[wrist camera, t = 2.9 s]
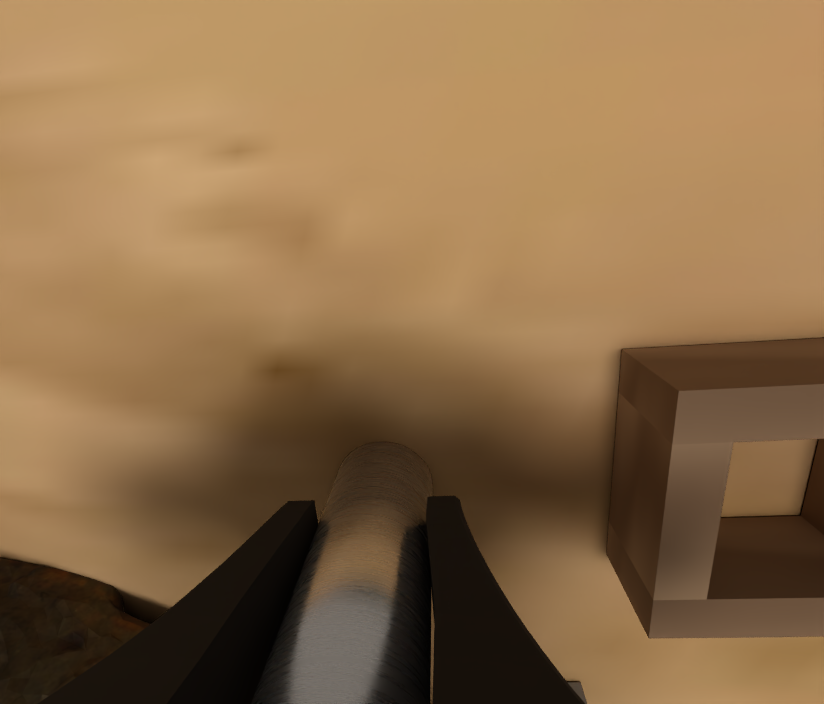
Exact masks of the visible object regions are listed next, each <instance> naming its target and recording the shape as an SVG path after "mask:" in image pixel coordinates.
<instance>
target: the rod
mask: <svg viewBox="0 0 824 704" xmlns="http://www.w3.org/2000/svg"><path fill="white" fill-rule="evenodd" d="M431 496H432V477H431V474H430V471H429V469H428V467H427V465H426V464H425V462H424V461H423V460H422V459H421V458H420V457H419V456H418V455H417V454H416V453H415V452H413V451H412V450H410V449H408V448H406V447H404V446H401V445H399V444H395V443H389V442H375V443H370V444H366V445H363V446H361V447H359V448H357V449H355V450H354V451H352V452H351V453H350V454H349V455H348V456H347V457H346V458H345V459H344V461H343V462H342V464H341V466H340V468H339V471H338V474H337V476H336V479H335V482H334V484H333V487H332V490H331V492H330V495H329V498H328V500H327V503H326V506H325V508H324V511H323V514H322V516H321V519H320V522H319V524H318V527H317V530H316V532H315V535H314V538H313V540H312V543H311V546H310V548H309V551H308V554H307V556H306V559H305V562H304V564H303V567H302V570H301V572H300V575H299V578H298V580H297V583H296V586H295V588H294V591H293V594H292V596H291V599H290V602H289V604H288V607H287V610H286V612H285V615H284V618H283V620H282V623H281V626H280V628H279V631H278V634H277V636H276V639H275V642H274V644H273V647H272V650H271V652H270V655H269V658H268V660H267V663H266V666H265V668H264V671H263V674H262V676H261V679H260V682H259V684H258V687H257V690H256V692H255V695H254V698H253V700H252V703H251V704H430V669H431V573H430V562H429V550H428V538H427V525H426V508H427V498H428V497H431Z"/></svg>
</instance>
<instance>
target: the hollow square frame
mask: <svg viewBox="0 0 824 704" xmlns="http://www.w3.org/2000/svg"><path fill="white" fill-rule="evenodd" d="M802 439H819V441H818V446H817V450H816V454H815V458H814V462H813V467H812V471H811V475H810V479H809V483H808V488H807V492H806V496H805V500H804V504H803V509H802V513H801V516H777V517H742V518H721V512H722V506H723V500H724V494H725V489H726V483H727V477H728V471H729V465H730V459H731V453H732V447H733V442H752V441H777V440H802ZM607 556H608V558H609V560H610V562H611V564H612V566H613V568H614V570H615V572H616V574H617V576H618V578H619V580H620V582H621V584H622V586H623V588H624V590H625V592H626V594H627V596H628V598H629V600H630V602H631V604H632V606H633V608H634V610H635V612H636V614H637V616H638V618H639V620H640V622H641V624H642V626H643V628H644V630H645V632H646V634H647V636H648V638H741V637H824V338H813V339H795V340H777V341H760V342H742V343H724V344H706V345H689V346H671V347H653V348H635V349H622V355H621V368H620V381H619V395H618V408H617V421H616V434H615V448H614V461H613V474H612V487H611V501H610V514H609V527H608V540H607Z"/></svg>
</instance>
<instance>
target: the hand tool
mask: <svg viewBox="0 0 824 704" xmlns="http://www.w3.org/2000/svg"><path fill="white" fill-rule="evenodd" d="M149 625H150V624H149V623H147V622H144V621H141V620H139V619H136V618H134V617H132V616H130V615H128V614H126V613H124V609H123V600H122V597H121V594H120V593H119V592H118V591H117V590H116V589H115V588H114V587H113V586H111V585H108V584H105V583H103V582H100V581H97V580H93V579H90V578H87V577H84V576H81V575H77V574H74V573H70V572H66V571H63V570H59V569H56V568H51V567H46V566H41V565H36V564H32V563H26V562H20V561H15V560H9V559H3V558H0V704H38V703H39V702H41V701H42V700H44V699H45V698H47V697H48V696H50V695H51V694H53V693H54V692H56V691H57V690H58V689H60V688H61V687H63V686H64V685H66V684H67V683H69V682H70V681H72V680H73V679H75V678H76V677H78V676H79V675H81V674H82V673H84V672H85V671H87V670H88V669H90V668H91V667H92V666H94V665H95V664H97V663H98V662H100V661H101V660H103V659H104V658H106V657H107V656H109V655H110V654H111V653H113V652H114V651H115V650H117V649H118V648H120V647H121V646H122V645H124V644H125V643H126V642H128V641H129V640H130V639H132V638H133V637H134V636H136V635H137V634H138V633H140V632H141V631H142V630H144V629H145V628H146V627H148V626H149Z"/></svg>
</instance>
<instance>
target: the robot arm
mask: <svg viewBox="0 0 824 704" xmlns="http://www.w3.org/2000/svg"><path fill="white" fill-rule="evenodd" d="M426 525H427V538H428V550H429V562H430V573H431V587H432V600H433V612H434V623H435V628H434V674H433V704H585V703H584V701H583V700H582V699H581V698H580V697H579V696H578V694H577V693H576V692H575V691H574V690H573V689H572V687H571V686H570V685H569V684H568V683H567V682H566V680H565V679H564V678H563V676H562V675H561V674H560V673H559V671H558V670H557V669H556V667H555V666H554V665H553V664H552V662H551V661H550V660H549V658H548V657H547V656H546V654H545V653H544V652H543V651H542V649H541V648H540V646H539V645H538V644H537V642H536V641H535V639H534V638H533V637H532V635H531V634H530V633H529V631H528V630H527V628H526V627H525V625H524V624H523V622H522V621H521V620H520V618H519V617H518V615H517V614H516V612H515V611H514V609H513V607H512V606H511V604H510V603H509V601H508V600H507V598H506V596H505V595H504V593H503V592H502V590H501V588H500V587H499V585H498V583H497V582H496V580H495V578H494V576H493V575H492V573H491V571H490V569H489V568H488V566H487V564H486V562H485V560H484V558H483V556H482V554H481V552H480V551H479V549H478V547H477V545H476V543H475V541H474V538H473V536H472V534H471V532H470V529H469V527H468V525H467V522H466V520H465V517H464V514H463V511H462V508H461V504H460V500H459V499H458V498H457V497H456V496H431V497H428V498H427V508H426ZM317 527H318V520H317V514H316V508H315V503H314V500H311V501H288V502H287V503H286V504H285V505H284V506H283V507H281V508H280V509H279V510H278V511H277V512H276V513H275V514H274V515H273V516H272V517H271V518H270V519H269V520H268V521H267V522H266V523H265V524H264V525H263V526H262V527H261V528H260V529H258V530H257V531H256V532H255V533H254V534H253V535H252V536H251V537H250V538H249V539H248V540H247V541H246V542H245V543H244V544H243V545H242V546H241V547H239V548H238V549H237V550H236V551H235V552H234V553H233V554H232V555H231V556H230V557H229V558H228V559H227V560H226V561H225V562H223V563H222V564H221V565H220V566H219V567H218V568H217V569H216V570H215V571H213V572H212V573H211V574H210V575H209V576H208V577H206V578H205V579H204V580H203V581H202V582H201V583H199V584H198V585H197V586H196V587H195V588H194V589H193V590H191V591H190V592H189V593H188V594H187V595H186V596H184V597H183V598H182V599H181V600H180V601H179V602H178V603H176V604H175V605H174V606H173V607H171V608H170V609H169V610H168V611H167V612H165V613H164V614H163V615H162V616H160V617H159V618H158V619H157V620H155V621H154V622H153V623H151V624H150V625H149V626H148V627H146V628H145V629H144V630H142V631H141V632H140V633H138V634H137V635H136V636H134V637H133V638H132V639H130V640H129V641H128V642H126V643H125V644H124V645H122V646H121V647H120V648H118V649H117V650H115V651H114V652H113V653H111V654H110V655H109V656H107V657H106V658H104V659H103V660H101V661H100V662H98V663H97V664H95V665H94V666H92V667H91V668H90V669H88V670H87V671H85V672H84V673H82V674H81V675H79V676H78V677H76V678H75V679H73V680H72V681H70V682H69V683H67V684H66V685H64V686H63V687H61V688H60V689H58V690H57V691H56V692H54V693H53V694H51V695H50V696H48V697H47V698H45V699H44V700H42V701H41V702H39V703H38V704H251V703H252V700H253V698H254V695H255V692H256V690H257V687H258V684H259V682H260V679H261V676H262V674H263V671H264V668H265V666H266V663H267V660H268V658H269V655H270V652H271V650H272V647H273V644H274V642H275V639H276V636H277V634H278V631H279V628H280V626H281V623H282V620H283V618H284V615H285V612H286V610H287V607H288V604H289V602H290V599H291V596H292V594H293V591H294V588H295V586H296V583H297V580H298V578H299V575H300V572H301V570H302V567H303V564H304V562H305V559H306V556H307V554H308V551H309V548H310V546H311V543H312V540H313V538H314V535H315V532H316V530H317Z"/></svg>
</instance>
